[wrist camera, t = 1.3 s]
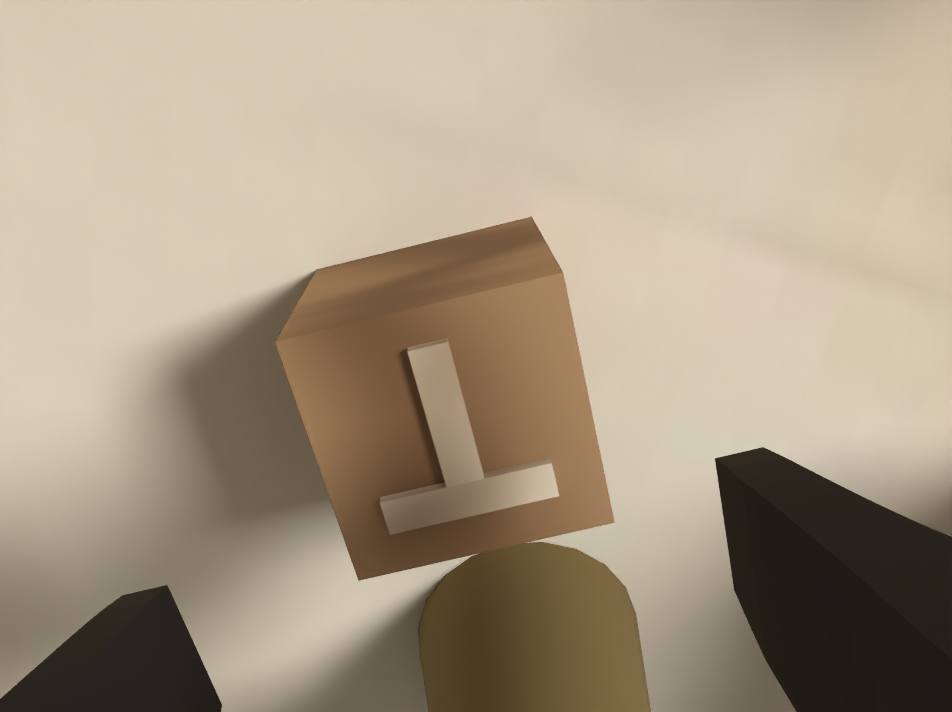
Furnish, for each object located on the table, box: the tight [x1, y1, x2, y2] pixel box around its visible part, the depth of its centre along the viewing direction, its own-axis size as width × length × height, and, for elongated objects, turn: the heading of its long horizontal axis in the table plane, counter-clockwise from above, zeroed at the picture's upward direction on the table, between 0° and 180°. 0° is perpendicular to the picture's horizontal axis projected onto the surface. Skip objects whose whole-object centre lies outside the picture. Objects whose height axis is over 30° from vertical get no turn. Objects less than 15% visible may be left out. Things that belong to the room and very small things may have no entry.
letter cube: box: [275, 217, 614, 580], centre depth 17 cm, size 5×5×5 cm
